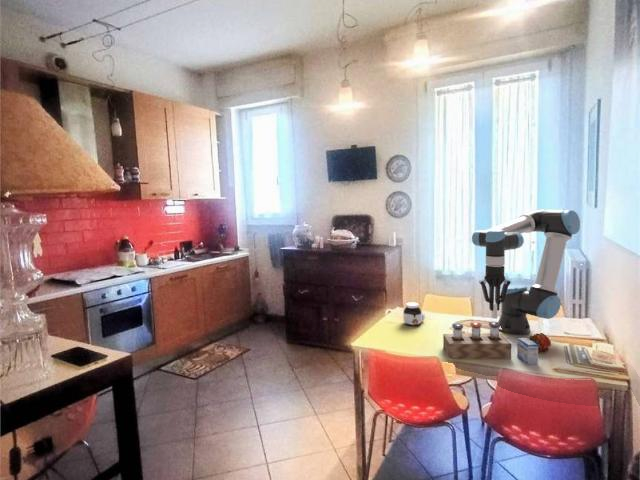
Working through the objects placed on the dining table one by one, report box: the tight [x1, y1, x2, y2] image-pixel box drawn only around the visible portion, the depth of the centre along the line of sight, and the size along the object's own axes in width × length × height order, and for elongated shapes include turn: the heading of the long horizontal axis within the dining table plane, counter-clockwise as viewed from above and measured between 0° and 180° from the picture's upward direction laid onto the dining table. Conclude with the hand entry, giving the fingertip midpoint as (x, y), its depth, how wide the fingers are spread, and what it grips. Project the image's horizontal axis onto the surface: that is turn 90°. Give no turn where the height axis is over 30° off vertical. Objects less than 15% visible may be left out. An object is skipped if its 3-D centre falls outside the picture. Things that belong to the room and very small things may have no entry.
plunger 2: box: [470, 321, 482, 341], centre depth 172 cm, size 5×5×9 cm
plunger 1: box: [451, 322, 464, 341], centre depth 172 cm, size 5×5×9 cm
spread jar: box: [402, 301, 426, 327], centre depth 215 cm, size 12×11×12 cm
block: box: [442, 332, 512, 360], centre depth 172 cm, size 26×12×7 cm, turn 85°
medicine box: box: [516, 337, 539, 366], centre depth 163 cm, size 8×4×9 cm, turn 5°
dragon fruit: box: [528, 332, 552, 353], centre depth 173 cm, size 8×8×12 cm
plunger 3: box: [488, 321, 500, 341], centre depth 171 cm, size 5×5×9 cm
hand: (494, 317), depth 170 cm, fingers closed
